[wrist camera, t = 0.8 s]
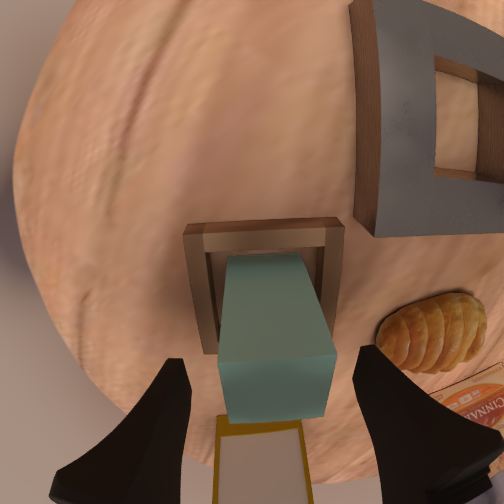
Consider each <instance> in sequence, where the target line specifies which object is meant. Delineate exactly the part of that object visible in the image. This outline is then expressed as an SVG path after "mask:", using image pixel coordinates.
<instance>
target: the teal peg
mask: <svg viewBox="0 0 504 504" xmlns="http://www.w3.org/2000/svg"><path fill="white" fill-rule="evenodd" d="M336 358H337V351H336V349H335V346H334V343H333V340H332V337H331V334H330V331H329V329H328V326H327V323H326V320H325V317H324V315H323V312H322V309H321V307H320V304H319V301H318V298H317V296H316V293H315V290H314V288H313V285H312V282H311V280H310V277H309V274H308V272H307V269H306V267H305V264H304V262H303V259H302V256H301V254H300V252H292V253H274V254H255V255H236V256H228V260H227V269H226V279H225V289H224V298H223V308H222V319H221V329H220V340H219V351H218V368H219V373H220V379H221V384H222V389H223V394H224V399H225V404H226V409H227V414H228V419H229V423H230V424H239V423H264V422H278V421H290V420H300V419H309V418H317V417H323V416H324V412H325V408H326V404H327V400H328V396H329V391H330V387H331V382H332V378H333V373H334V368H335V363H336Z"/></svg>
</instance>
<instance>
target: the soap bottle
mask: <svg viewBox="0 0 504 504" xmlns="http://www.w3.org/2000/svg"><path fill="white" fill-rule="evenodd" d="M212 504H314V501H313V494H312V487H311V480H310V474H309V467H308V460H307V454H306V447H305V441H304V435H303V428H302V422H301V419H300V420H290V421H278V422H264V423H239V424H230V423H229V419H228V415H220V416H217V424H216V441H215V458H214V477H213V499H212Z"/></svg>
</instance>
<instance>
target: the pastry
mask: <svg viewBox="0 0 504 504" xmlns="http://www.w3.org/2000/svg"><path fill="white" fill-rule="evenodd" d="M486 329H487V321H486V315H485V310H484V305H483V304H482V302H481V301H480V300H478V299H476V298H474V297H472V296H470V295H468V294H465V293H452V292H450V293H447V294H443V295H438V296H437V297H432V298H428V299H426V300H423V301H420V302H416V303H413V304H410V305H408V306H405V307H403V308H401V309H400V310H399V311H397V312H396V313H394V314H392V315H390V316H388V317H387V318H386V319H385V321H384V322H383V323H382V324H381V326H380V329H379V332H378V334H377V337H376V344H377V348H378V349H379V350H380V351H381V352H382V353H383V354H384V355H385V356H386V357H387V358H388V359H389V360H390V361H391V362H392V363H393V364H394V365H395V366H396V367H397V368H398V369H399V370H406V369H407V370H409V371H411V372H412V373H419V372H422V373H429V374H436V373H438V372H439V371H441V372H449V371H451V370H453V369H454V368H455V367H456V365H457V364H458V363H461V362H466V363H467V362H469V361H470V360H472V359H473V358H474V357H475V356H476V355H477V354H478V352H479V351H480V349H481V348H482V346H483V343H484V339H485V332H486Z"/></svg>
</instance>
